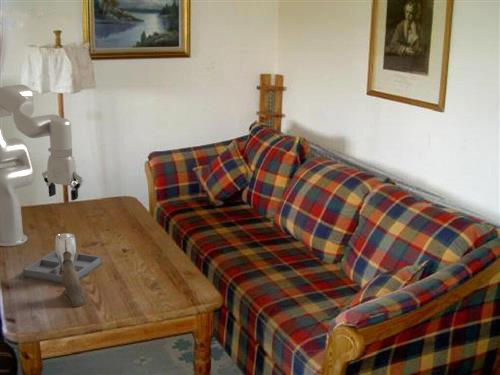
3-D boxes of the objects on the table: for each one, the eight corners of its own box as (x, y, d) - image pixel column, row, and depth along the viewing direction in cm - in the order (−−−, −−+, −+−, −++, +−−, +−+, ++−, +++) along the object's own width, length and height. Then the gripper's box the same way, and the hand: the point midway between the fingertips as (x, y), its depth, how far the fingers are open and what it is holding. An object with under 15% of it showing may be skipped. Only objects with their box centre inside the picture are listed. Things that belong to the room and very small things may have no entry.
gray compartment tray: (23, 276, 233) (23, 269, 233) (56, 256, 252) (56, 249, 251) (71, 285, 227) (71, 277, 226) (101, 264, 246) (101, 256, 245)
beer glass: (71, 279, 229) (69, 240, 225) (54, 277, 231) (51, 238, 227) (80, 272, 236) (78, 234, 232) (63, 270, 237) (61, 232, 233)
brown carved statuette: (62, 301, 221) (54, 250, 219) (77, 297, 224) (70, 247, 222) (72, 308, 211) (64, 255, 209) (88, 304, 214) (80, 252, 212)
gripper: (34, 152, 231) (37, 196, 236) (75, 158, 226) (77, 204, 231) (47, 147, 238) (50, 191, 243) (87, 153, 232) (89, 198, 238)
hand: (63, 197), depth 237 cm, fingers open, 9 cm apart
